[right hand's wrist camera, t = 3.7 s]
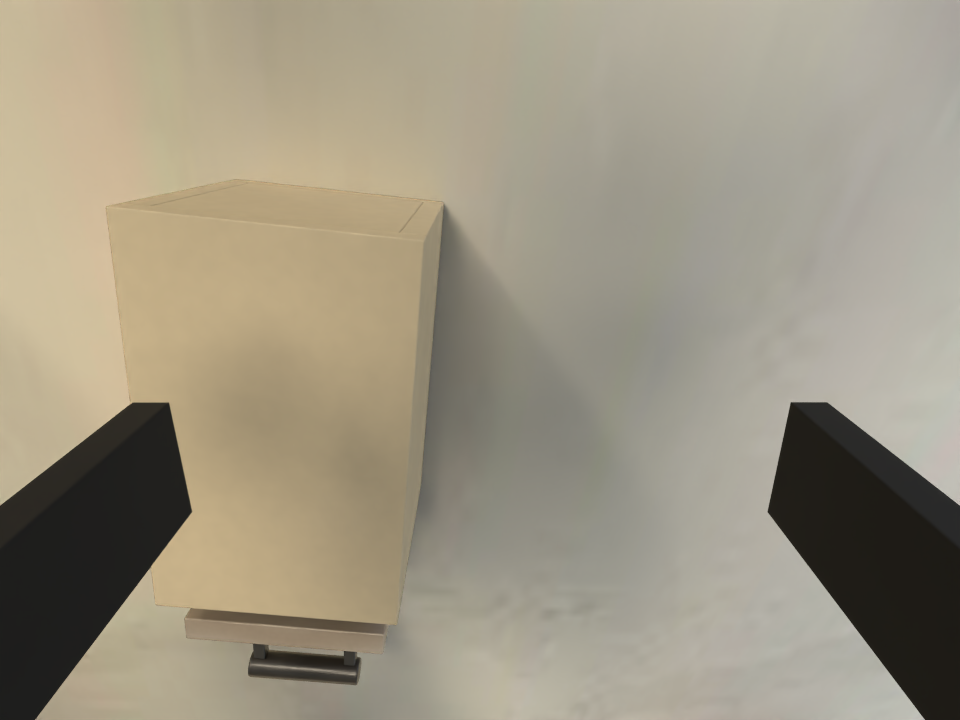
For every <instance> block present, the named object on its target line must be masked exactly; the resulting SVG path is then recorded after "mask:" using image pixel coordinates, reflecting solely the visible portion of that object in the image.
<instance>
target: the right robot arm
mask: <svg viewBox="0 0 960 720" xmlns="http://www.w3.org/2000/svg"><path fill="white" fill-rule="evenodd" d="M191 513H192V508H191V503H190V499H189V494H188V489H187V484H186V480H185V475H184V470H183V466H182V461H181V456H180V451H179V447H178V442H177V437H176V433H175V428H174V423H173V418H172V414H171V409H170V404H169V402H133V403H131V404H130V405H129V406H128V407H126V408H125V409H124V410H122V411H121V412H120V413H119V414H117V415H116V416H115V417H114V418H112V419H111V420H110V421H108V422H107V423H106V424H105V425H103V426H102V427H101V428H99V429H98V430H97V431H96V432H94V433H93V434H92V435H90V436H89V437H88V438H87V439H85V440H84V441H83V442H81V443H80V444H79V445H78V446H76V447H75V448H74V449H72V450H71V451H70V452H69V453H67V454H66V455H65V456H63V457H62V458H61V459H60V460H58V461H57V462H56V463H54V464H53V465H52V466H51V467H49V468H48V469H47V470H45V471H44V472H43V473H42V474H40V475H39V476H38V477H36V478H35V479H34V480H33V481H31V482H30V483H29V484H27V485H26V486H25V487H24V488H22V489H21V490H20V491H19V492H17V493H16V494H15V495H13V496H12V497H11V498H10V499H8V500H7V501H6V502H4V503H3V504H2V505H1V506H0V720H35V719H36V718H37V716H38V715H39V714H40V712H41V711H42V710H43V708H44V707H45V706H46V705H47V703H48V702H49V701H50V699H51V698H52V697H53V695H54V694H55V693H56V691H57V690H58V689H59V687H60V686H61V685H62V683H63V682H64V681H65V679H66V678H67V677H68V675H69V674H70V673H71V671H72V670H73V669H74V668H75V666H76V665H77V664H78V662H79V661H80V660H81V658H82V657H83V656H84V654H85V653H86V652H87V650H88V649H89V648H90V646H91V645H92V644H93V642H94V641H95V640H96V638H97V637H98V636H99V635H100V633H101V632H102V631H103V629H104V628H105V627H106V625H107V624H108V623H109V621H110V620H111V619H112V617H113V616H114V615H115V613H116V612H117V611H118V609H119V608H120V607H121V605H122V604H123V603H124V602H125V600H126V599H127V598H128V596H129V595H130V594H131V592H132V591H133V590H134V588H135V587H136V586H137V584H138V583H139V582H140V580H141V579H142V578H143V576H144V575H145V574H146V572H147V571H148V570H149V568H150V567H151V566H152V565H153V563H154V562H155V561H156V559H157V558H158V557H159V555H160V554H161V553H162V551H163V550H164V549H165V547H166V546H167V545H168V543H169V542H170V541H171V539H172V538H173V537H174V535H175V534H176V533H177V532H178V530H179V529H180V528H181V526H182V525H183V524H184V522H185V521H186V520H187V518H188V517H189V516H190V514H191ZM768 513H769V514H770V516H771V517H772V518H773V520H774V521H775V522H776V524H777V525H778V526H779V528H780V529H781V530H782V532H783V533H784V534H785V535H786V537H787V538H788V539H789V541H790V542H791V543H792V545H793V546H794V547H795V549H796V550H797V551H798V553H799V554H800V555H801V557H802V558H803V559H804V561H805V562H806V563H807V565H808V566H809V567H810V568H811V570H812V571H813V572H814V574H815V575H816V576H817V578H818V579H819V580H820V582H821V583H822V584H823V586H824V587H825V588H826V590H827V591H828V592H829V594H830V595H831V596H832V598H833V599H834V600H835V602H836V603H837V604H838V605H839V607H840V608H841V609H842V611H843V612H844V613H845V615H846V616H847V617H848V619H849V620H850V621H851V623H852V624H853V625H854V627H855V628H856V629H857V631H858V632H859V633H860V635H861V636H862V637H863V638H864V640H865V641H866V642H867V644H868V645H869V646H870V648H871V649H872V650H873V652H874V653H875V654H876V656H877V657H878V658H879V660H880V661H881V662H882V664H883V665H884V666H885V668H886V669H887V670H888V671H889V673H890V674H891V675H892V677H893V678H894V679H895V681H896V682H897V683H898V685H899V686H900V687H901V689H902V690H903V691H904V693H905V694H906V695H907V697H908V698H909V699H910V701H911V702H912V703H913V705H914V706H915V707H916V708H917V710H918V711H919V712H920V714H921V715H922V716H923V718H924V719H925V720H960V506H959V505H958V504H957V503H956V502H954V501H953V500H952V499H950V498H949V497H948V496H947V495H945V494H944V493H943V492H941V491H940V490H939V489H938V488H936V487H935V486H934V485H933V484H931V483H930V482H929V481H927V480H926V479H925V478H924V477H922V476H921V475H920V474H918V473H917V472H916V471H915V470H913V469H912V468H911V467H909V466H908V465H907V464H906V463H904V462H903V461H902V460H900V459H899V458H898V457H897V456H895V455H894V454H893V453H891V452H890V451H889V450H888V449H886V448H885V447H884V446H882V445H881V444H880V443H879V442H877V441H876V440H875V439H873V438H872V437H871V436H870V435H868V434H867V433H866V432H864V431H863V430H862V429H861V428H859V427H858V426H857V425H855V424H854V423H853V422H852V421H850V420H849V419H848V418H846V417H845V416H844V415H843V414H841V413H840V412H839V411H837V410H836V409H835V408H834V407H832V406H831V405H830V404H829V403H827V402H791V404H790V409H789V414H788V418H787V423H786V428H785V433H784V437H783V442H782V447H781V451H780V456H779V461H778V466H777V470H776V475H775V480H774V484H773V489H772V494H771V499H770V503H769V508H768Z"/></svg>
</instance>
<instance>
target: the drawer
mask: <svg viewBox="0 0 960 720" xmlns="http://www.w3.org/2000/svg"><path fill="white" fill-rule="evenodd" d="M388 626H389V625H388V624H376V623H364V622H352V621H340V620H328V619H316V618H304V617H292V616H280V615H268V614H256V613H244V612H232V611H220V610H208V609H196V608H191V609H190V610H189V612H188V614H187V615H186V617H185V628H186V637H187V638H191V639H203V640H215V641H228V642H240V643H252V644H253V649H254V651H253V653H252V655H251V658H250V662H249V667H248V675H249V676H250V677H259V678H272V679H285V680H297V681H310V682H322V683H335V684H348V685H357V684H358V681H359V677H360V671H361V658H360V657H357V652H363V653H376V654H383V652H384V648H385V642H386V637H387V632H388ZM268 645H277V646H289V647H302V648H314V649H326V650H339V651H344V656H337V655H324V654H312V653H300V652H287V651H275V650H269V648H268Z"/></svg>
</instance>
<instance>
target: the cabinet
mask: <svg viewBox="0 0 960 720" xmlns="http://www.w3.org/2000/svg"><path fill="white" fill-rule="evenodd" d="M443 208H444V203H443V202H439V201H429V200H420V199H411V198H402V197H393V196H384V195H375V194H366V193H357V192H347V191H338V190H329V189H320V188H311V187H302V186H293V185H284V184H275V183H265V182H256V181H247V180H238V179H235V180H230V181H225V182H220V183H215V184H210V185H206V186H201V187H196V188H191V189H186V190H182V191H177V192H172V193H167V194H162V195H158V196H153V197H148V198H143V199H138V200H134V201H129V202H124V203H119V204H115V205H110V206H106V213H107V221H108V229H109V237H110V245H111V253H112V261H113V269H114V277H115V285H116V293H117V301H118V309H119V317H120V325H121V333H122V341H123V349H124V357H125V365H126V373H127V381H128V389H129V397H130V404H131V403H133V402H169V404H170V409H171V414H172V418H173V423H174V428H175V433H176V437H177V442H178V447H179V451H180V456H181V461H182V466H183V470H184V475H185V480H186V484H187V489H188V494H189V499H190V503H191V508H192V513H191V514H190V516H189V517H188V518H187V520H186V521H185V522H184V524H183V525H182V526H181V528H180V529H179V530H178V532H177V533H176V534H175V535H174V537H173V538H172V539H171V541H170V542H169V543H168V545H167V546H166V547H165V549H164V550H163V551H162V553H161V554H160V555H159V557H158V558H157V559H156V561H155V562H154V563H153V565H152V566H151V572H152V580H153V588H154V596H155V604H156V605H160V606H172V607H184V608H196V609H208V610H220V611H232V612H244V613H256V614H268V615H280V616H292V617H304V618H316V619H328V620H340V621H352V622H364V623H376V624H388V625H397V623H398V617H399V611H400V605H401V599H402V593H403V588H404V582H405V576H406V570H407V564H408V558H409V552H410V546H411V541H412V535H413V529H414V523H415V517H416V511H417V505H418V499H419V493H420V487H421V478H422V465H423V453H424V441H425V429H426V416H427V404H428V392H429V380H430V367H431V355H432V343H433V331H434V319H435V306H436V294H437V282H438V270H439V257H440V245H441V233H442V221H443Z"/></svg>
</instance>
